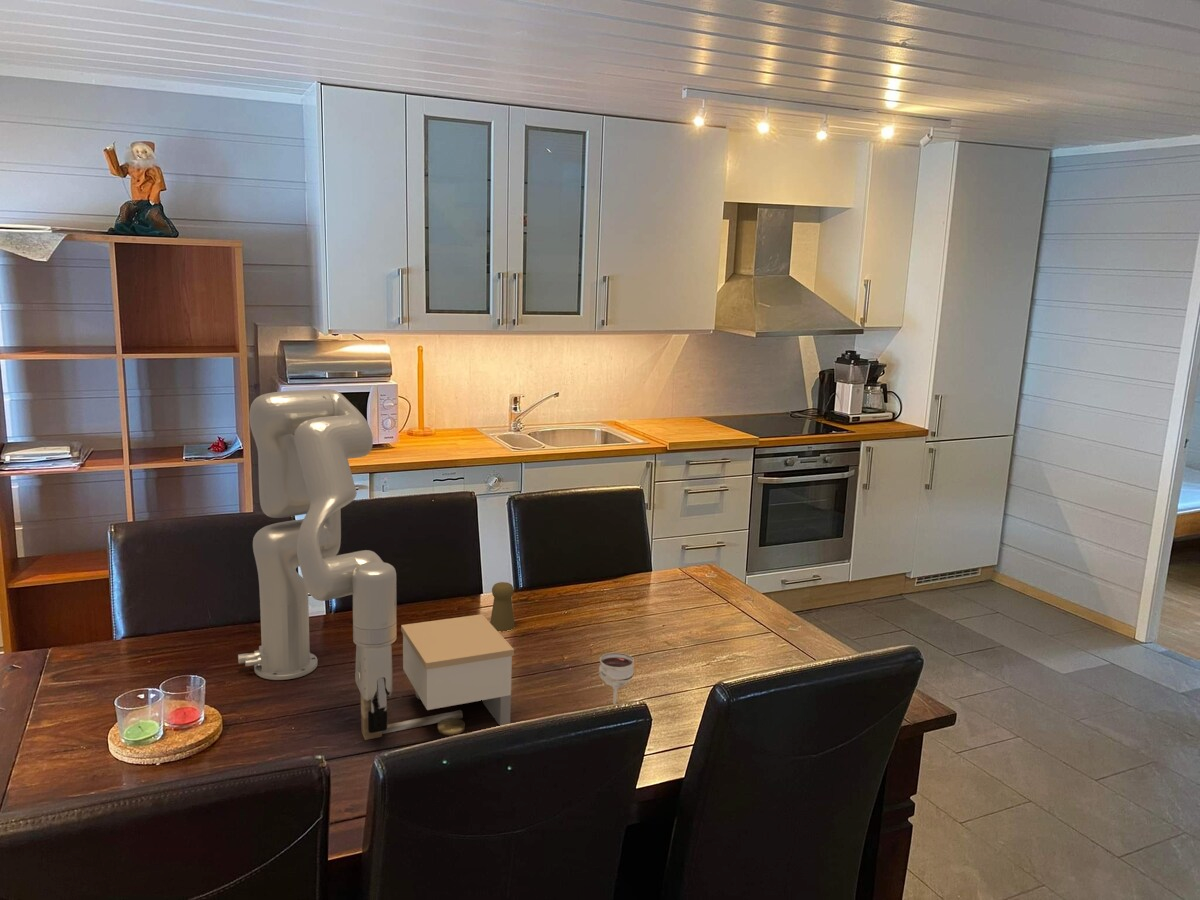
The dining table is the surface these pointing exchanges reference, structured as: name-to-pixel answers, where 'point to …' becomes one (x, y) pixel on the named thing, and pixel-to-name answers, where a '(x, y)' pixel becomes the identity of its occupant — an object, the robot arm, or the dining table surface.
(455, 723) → the brass disc
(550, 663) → the dining table surface
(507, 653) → the low cabinet
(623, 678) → the wineglass
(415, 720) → the wooden mallet
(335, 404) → the robot arm
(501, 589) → the olive pawn
